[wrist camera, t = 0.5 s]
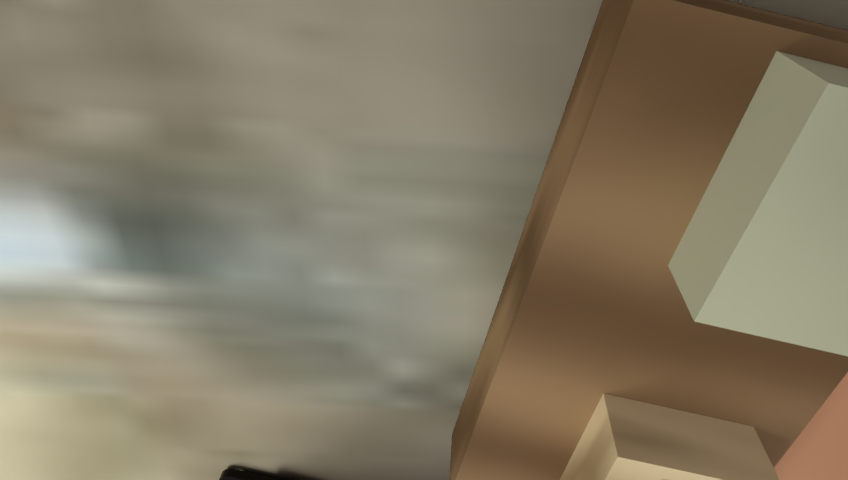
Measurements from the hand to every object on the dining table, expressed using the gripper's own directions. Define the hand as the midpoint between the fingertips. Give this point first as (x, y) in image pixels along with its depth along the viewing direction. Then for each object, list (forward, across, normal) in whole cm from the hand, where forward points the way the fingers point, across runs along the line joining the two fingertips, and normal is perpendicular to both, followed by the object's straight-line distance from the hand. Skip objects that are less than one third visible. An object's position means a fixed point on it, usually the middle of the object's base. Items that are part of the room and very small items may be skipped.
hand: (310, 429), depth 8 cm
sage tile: (+10, -10, -2) cm, 14 cm away
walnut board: (+13, -10, +4) cm, 16 cm away
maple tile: (+10, -10, +10) cm, 17 cm away
